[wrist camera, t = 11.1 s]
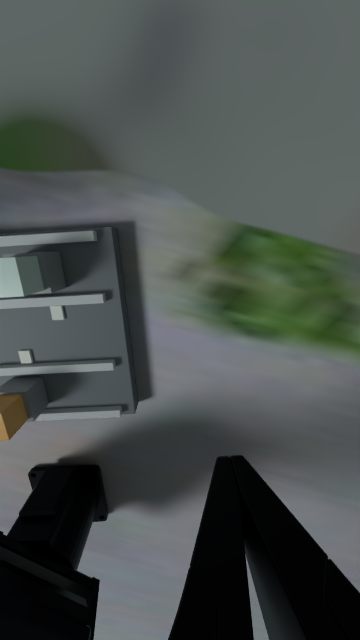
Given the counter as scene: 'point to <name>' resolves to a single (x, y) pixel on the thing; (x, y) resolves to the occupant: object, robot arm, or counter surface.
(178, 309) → the counter surface
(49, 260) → the fader
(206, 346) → the counter surface
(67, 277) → the console
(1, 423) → the fader
